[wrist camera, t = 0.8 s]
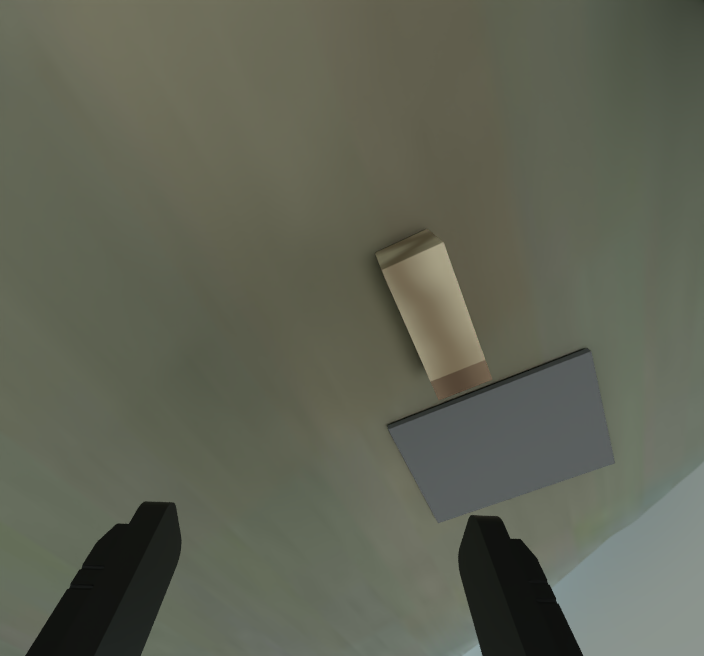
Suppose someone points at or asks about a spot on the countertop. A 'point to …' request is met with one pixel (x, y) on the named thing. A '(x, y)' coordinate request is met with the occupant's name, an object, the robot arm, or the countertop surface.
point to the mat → (508, 438)
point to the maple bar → (434, 312)
